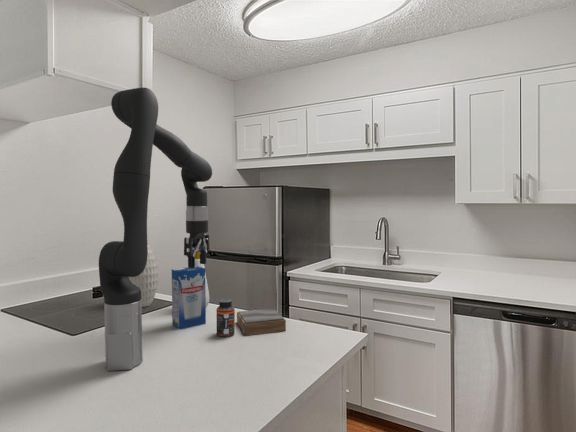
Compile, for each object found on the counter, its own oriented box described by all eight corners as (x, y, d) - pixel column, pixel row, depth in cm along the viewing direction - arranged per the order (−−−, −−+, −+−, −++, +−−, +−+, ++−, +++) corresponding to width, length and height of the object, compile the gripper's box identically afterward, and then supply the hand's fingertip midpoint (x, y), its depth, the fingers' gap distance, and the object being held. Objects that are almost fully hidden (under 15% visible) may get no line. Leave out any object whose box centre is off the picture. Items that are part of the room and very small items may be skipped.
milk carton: (179, 329, 128) (178, 271, 127) (172, 325, 133) (171, 269, 132) (206, 323, 135) (205, 268, 134) (198, 319, 139) (197, 266, 139)
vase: (131, 311, 149) (130, 241, 148) (122, 304, 159) (121, 238, 158) (163, 305, 157) (162, 238, 156) (152, 299, 167) (151, 236, 166)
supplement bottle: (231, 338, 121) (230, 303, 120) (213, 336, 122) (213, 302, 121) (237, 331, 126) (237, 298, 126) (220, 330, 128) (220, 297, 127)
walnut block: (285, 330, 127) (285, 318, 127) (245, 335, 123) (245, 323, 123) (273, 318, 141) (273, 307, 140) (236, 322, 136) (236, 311, 136)
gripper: (197, 220, 122) (197, 269, 123) (215, 218, 136) (216, 262, 137) (176, 220, 124) (177, 268, 125) (196, 218, 138) (197, 262, 138)
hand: (197, 265), depth 131 cm, fingers open, 8 cm apart
